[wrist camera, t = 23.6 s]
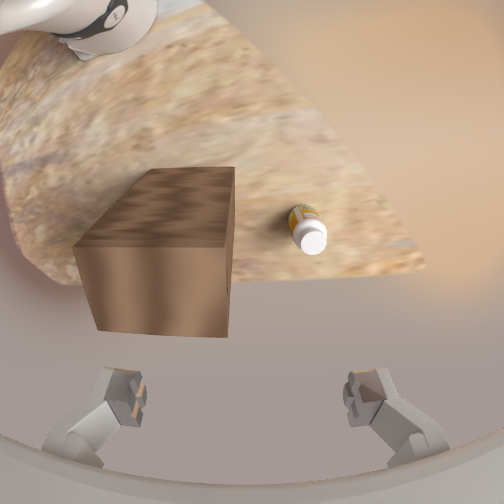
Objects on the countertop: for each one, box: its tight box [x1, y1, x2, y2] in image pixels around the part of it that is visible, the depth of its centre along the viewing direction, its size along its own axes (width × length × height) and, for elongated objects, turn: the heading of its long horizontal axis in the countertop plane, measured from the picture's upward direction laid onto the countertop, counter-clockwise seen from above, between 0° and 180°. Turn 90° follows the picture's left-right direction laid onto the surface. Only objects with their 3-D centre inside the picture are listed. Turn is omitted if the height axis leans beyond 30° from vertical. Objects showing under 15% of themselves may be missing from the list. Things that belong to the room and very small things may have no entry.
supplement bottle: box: [288, 205, 327, 255], centre depth 50 cm, size 5×5×10 cm
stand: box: [73, 167, 235, 338], centre depth 41 cm, size 17×16×28 cm
